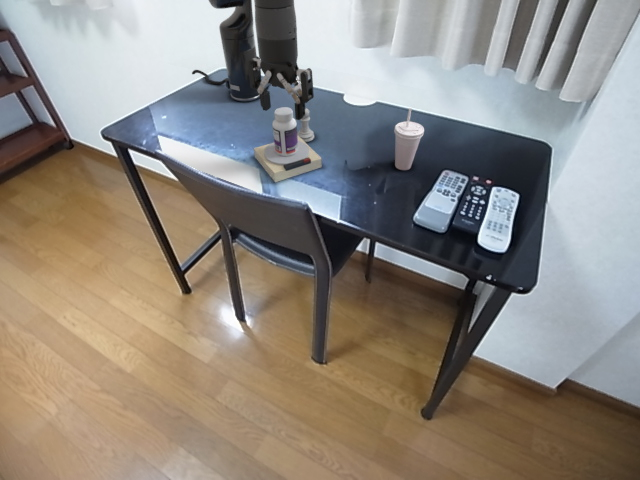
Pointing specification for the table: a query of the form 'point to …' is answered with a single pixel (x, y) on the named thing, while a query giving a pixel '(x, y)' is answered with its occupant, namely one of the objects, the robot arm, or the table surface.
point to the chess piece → (305, 128)
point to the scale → (287, 161)
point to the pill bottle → (285, 132)
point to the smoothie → (407, 142)
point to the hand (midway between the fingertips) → (283, 113)
